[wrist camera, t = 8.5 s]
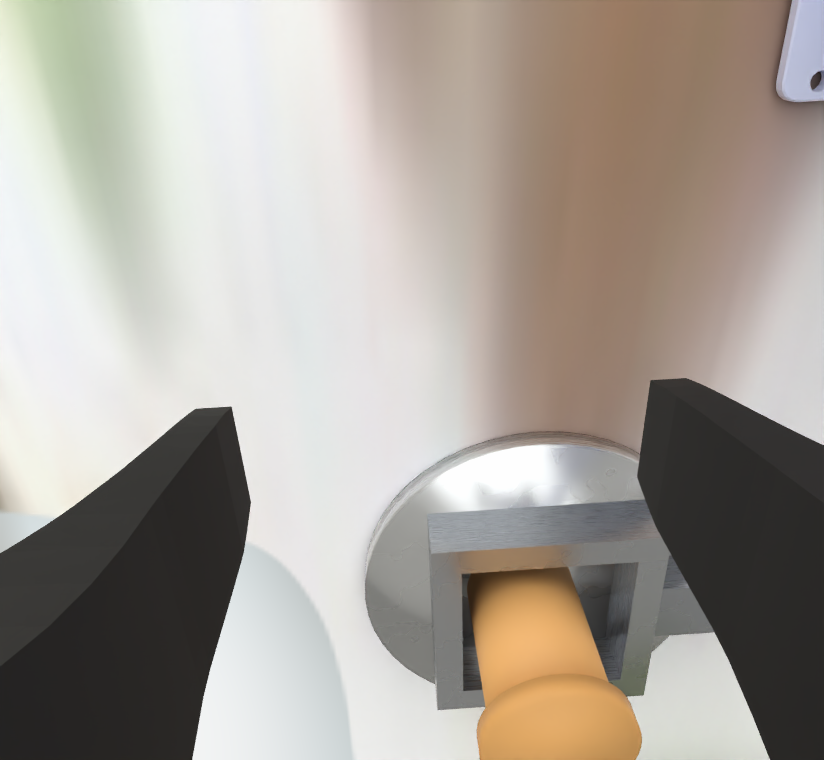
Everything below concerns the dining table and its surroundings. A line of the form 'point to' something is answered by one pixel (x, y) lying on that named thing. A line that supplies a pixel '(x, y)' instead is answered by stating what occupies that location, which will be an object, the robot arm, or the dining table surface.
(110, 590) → the robot arm
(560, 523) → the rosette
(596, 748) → the pin
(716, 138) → the dining table surface
